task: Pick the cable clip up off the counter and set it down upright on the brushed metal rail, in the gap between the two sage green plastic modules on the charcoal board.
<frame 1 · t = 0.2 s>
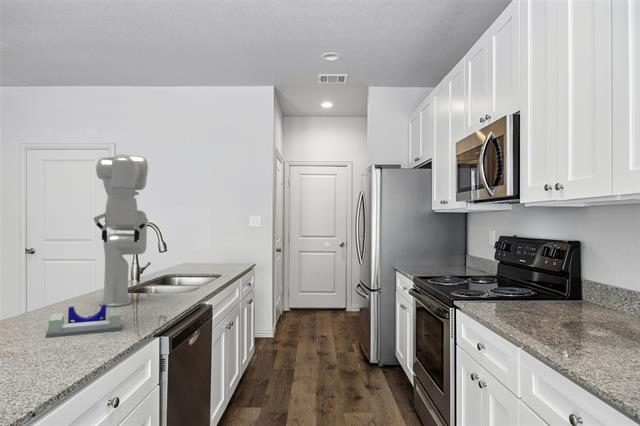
hand: (120, 242, 141), 31 cm above the worktop, tool pointing down, fingers open, 9 cm apart
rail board: (86, 329, 139), on the worktop
cable clip: (87, 322, 149), on the worktop
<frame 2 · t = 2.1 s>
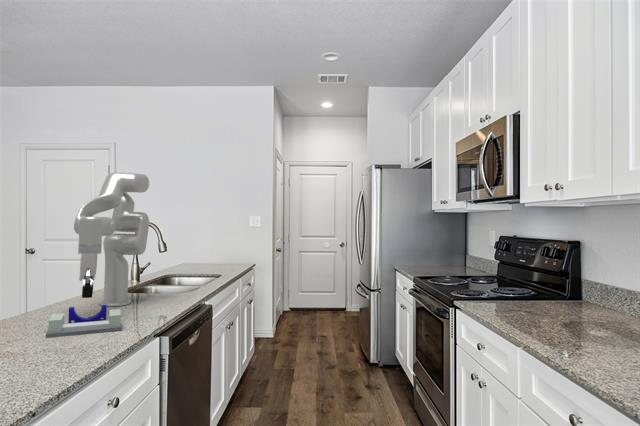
hand: (87, 295, 149), 10 cm above the worktop, tool pointing down, fingers open, 9 cm apart
nothing on the worktop moved.
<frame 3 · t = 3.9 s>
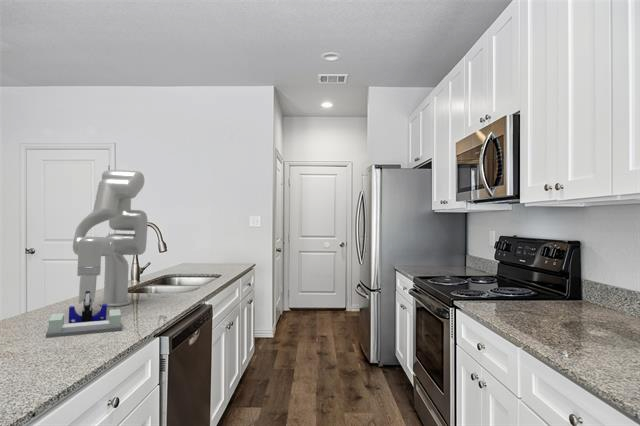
hand: (86, 319, 149), 1 cm above the worktop, tool pointing down, fingers closed on cable clip, 4 cm apart
cable clip: (87, 322, 149), on the worktop, touching gripper
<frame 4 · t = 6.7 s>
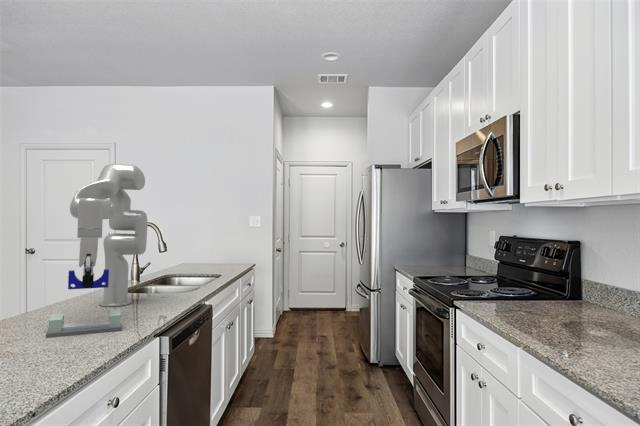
hand: (87, 285, 139), 15 cm above the worktop, tool pointing down, fingers closed on cable clip, 4 cm apart
cable clip: (88, 287, 140), point 14 cm above the worktop, touching gripper
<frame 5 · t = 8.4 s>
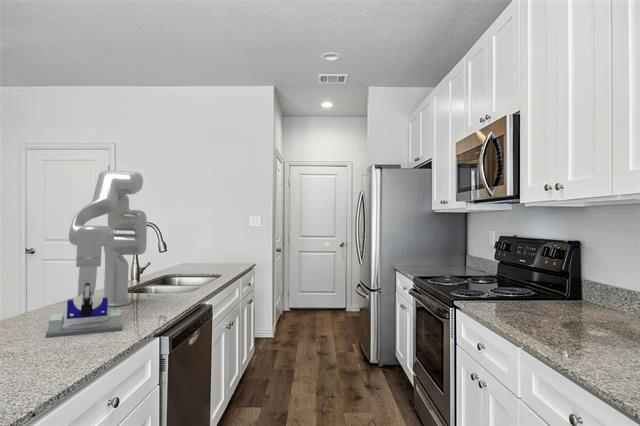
hand: (86, 314, 139), 5 cm above the worktop, tool pointing down, fingers closed on cable clip, 4 cm apart
cable clip: (87, 316, 139), point 4 cm above the worktop, touching gripper
when the fingers open (4 cm above the worktop, at t = 9.5 s): cable clip drops 1 cm, resting on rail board.
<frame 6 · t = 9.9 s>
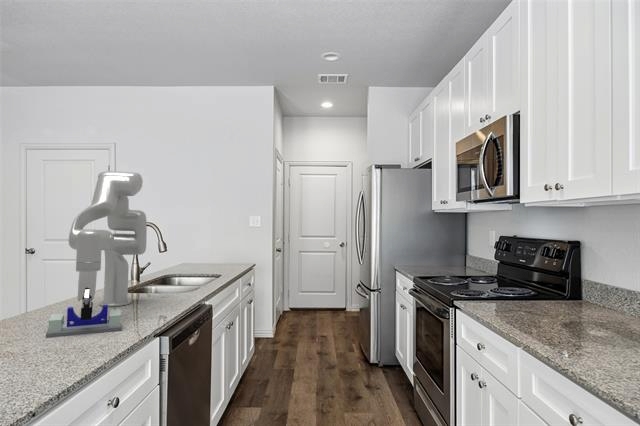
hand: (86, 316, 139), 5 cm above the worktop, tool pointing down, fingers open, 8 cm apart
cable clip: (87, 324, 139), point 2 cm above the worktop, touching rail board
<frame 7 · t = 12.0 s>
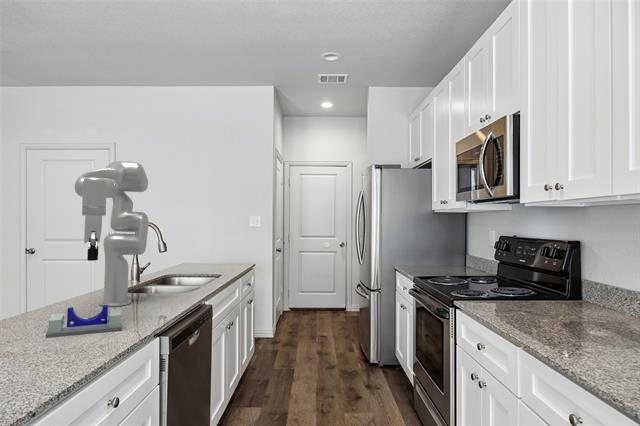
hand: (92, 258, 146), 24 cm above the worktop, tool pointing down, fingers open, 9 cm apart
nothing on the worktop moved.
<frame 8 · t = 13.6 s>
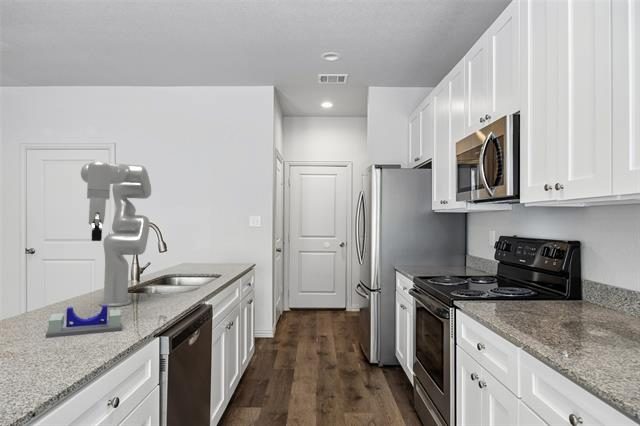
hand: (96, 240, 152), 30 cm above the worktop, tool pointing down, fingers open, 9 cm apart
nothing on the worktop moved.
at the end: cable clip 0.6 cm off-centre on the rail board, point 1.8 cm above the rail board's base; cable clip tilted 0°; the gripper is holding nothing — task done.
